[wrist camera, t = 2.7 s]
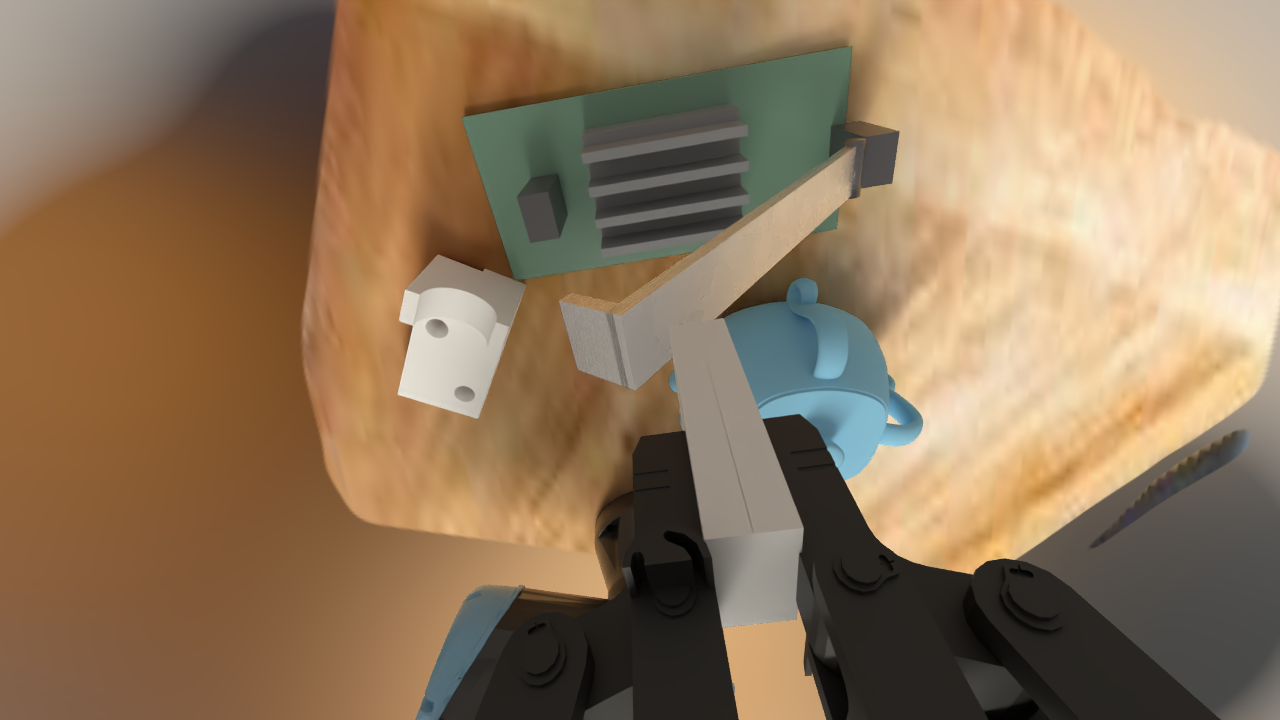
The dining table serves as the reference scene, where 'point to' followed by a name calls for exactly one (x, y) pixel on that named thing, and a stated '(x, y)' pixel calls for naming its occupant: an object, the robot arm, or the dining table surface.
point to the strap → (705, 276)
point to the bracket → (456, 333)
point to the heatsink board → (559, 145)
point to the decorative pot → (821, 375)
